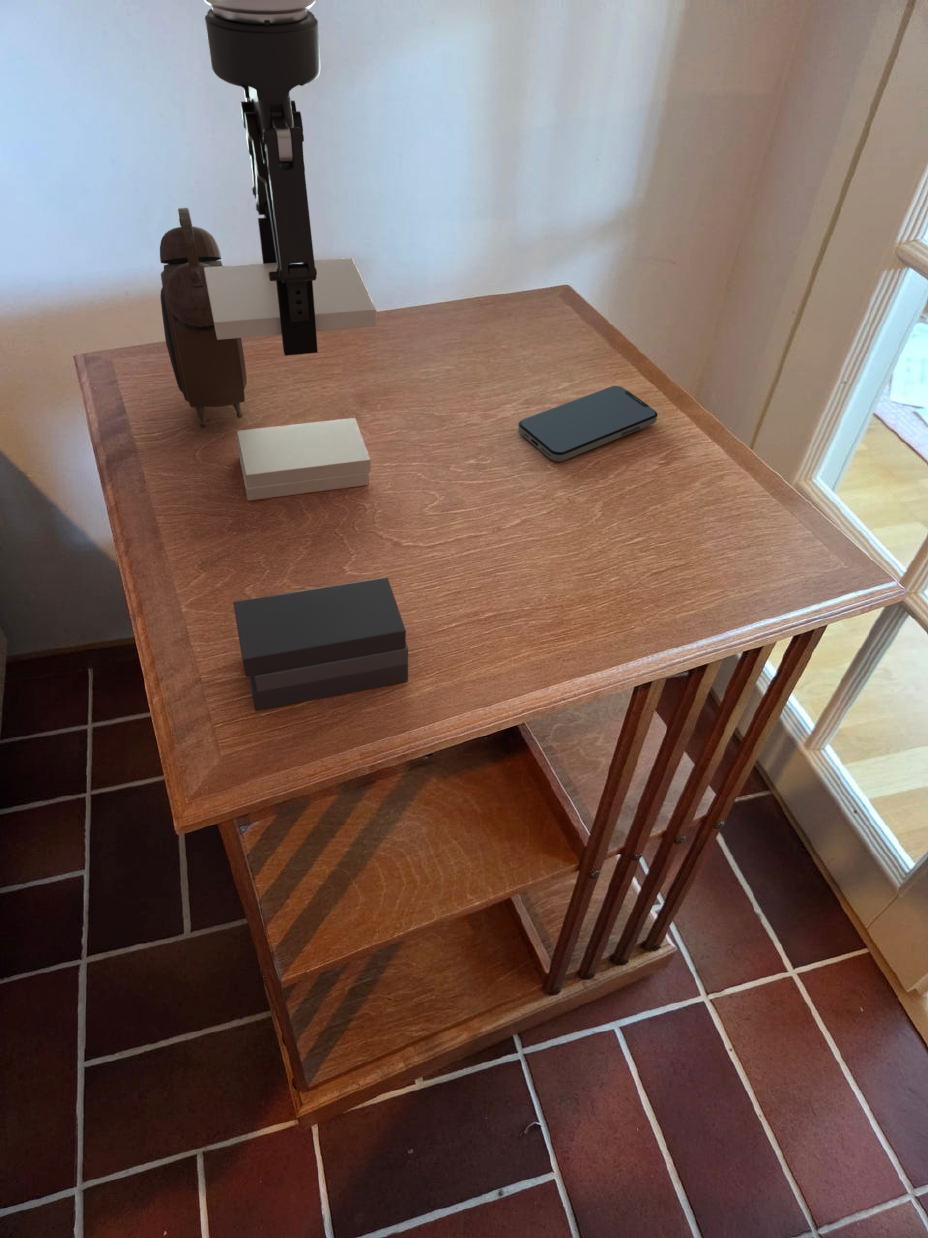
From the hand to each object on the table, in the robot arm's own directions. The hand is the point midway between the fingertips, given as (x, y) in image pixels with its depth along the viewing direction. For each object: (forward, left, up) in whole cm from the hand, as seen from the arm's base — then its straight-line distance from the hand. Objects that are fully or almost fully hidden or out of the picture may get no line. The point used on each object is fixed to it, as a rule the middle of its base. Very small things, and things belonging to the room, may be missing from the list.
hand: (290, 320), depth 72 cm
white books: (0, 0, -16) cm, 16 cm away
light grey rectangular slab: (0, 0, +1) cm, 1 cm away
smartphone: (+27, +17, -17) cm, 36 cm away
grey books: (+11, -24, -16) cm, 31 cm away
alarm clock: (-14, +9, -17) cm, 23 cm away
